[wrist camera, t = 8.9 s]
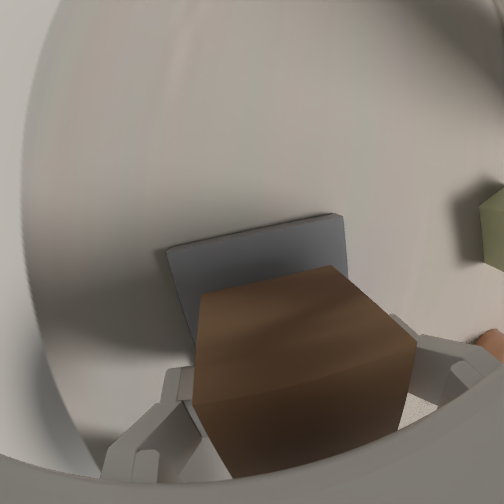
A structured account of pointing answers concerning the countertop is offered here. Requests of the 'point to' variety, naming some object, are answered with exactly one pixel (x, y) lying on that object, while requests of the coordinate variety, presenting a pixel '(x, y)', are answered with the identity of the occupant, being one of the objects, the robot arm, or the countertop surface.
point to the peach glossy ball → (493, 343)
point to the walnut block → (297, 371)
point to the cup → (204, 465)
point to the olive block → (493, 229)
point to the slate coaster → (254, 258)
